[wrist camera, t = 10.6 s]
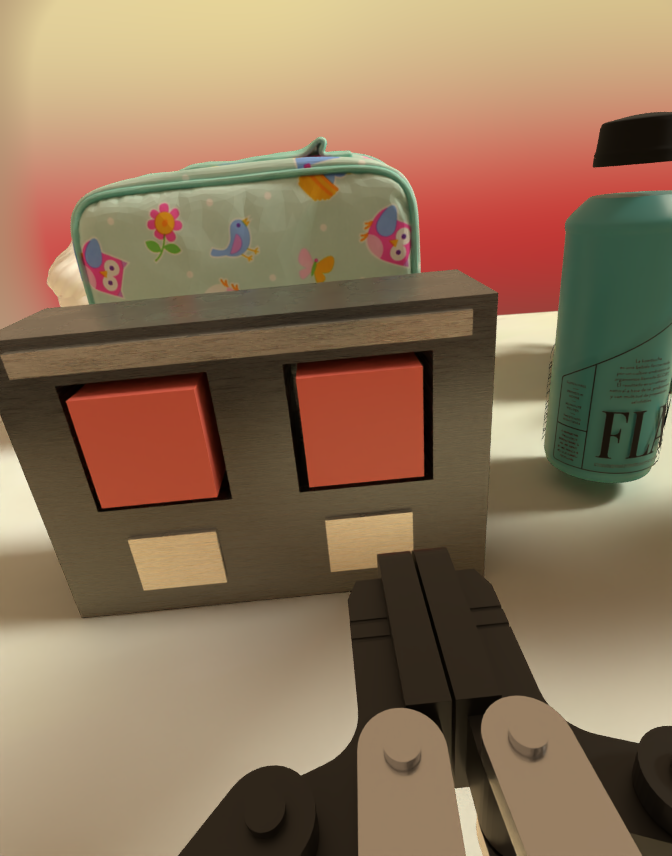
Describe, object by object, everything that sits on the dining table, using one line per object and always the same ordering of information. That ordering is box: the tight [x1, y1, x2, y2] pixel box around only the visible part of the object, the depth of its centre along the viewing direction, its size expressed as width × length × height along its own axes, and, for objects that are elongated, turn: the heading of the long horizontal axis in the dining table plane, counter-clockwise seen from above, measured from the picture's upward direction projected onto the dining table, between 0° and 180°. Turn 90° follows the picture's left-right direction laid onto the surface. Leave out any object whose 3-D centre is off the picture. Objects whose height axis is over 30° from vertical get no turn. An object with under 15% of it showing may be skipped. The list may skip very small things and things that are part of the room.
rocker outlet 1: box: [66, 372, 226, 508], centre depth 23 cm, size 5×5×5 cm
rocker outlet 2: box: [296, 352, 424, 487], centre depth 23 cm, size 5×5×5 cm
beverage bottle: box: [542, 112, 672, 483], centre depth 28 cm, size 6×7×20 cm
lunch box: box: [71, 137, 420, 304], centre depth 42 cm, size 27×10×21 cm, turn 91°
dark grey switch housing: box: [0, 270, 498, 618], centre depth 25 cm, size 20×6×14 cm, turn 93°
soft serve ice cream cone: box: [47, 241, 89, 307], centre depth 59 cm, size 8×8×16 cm
